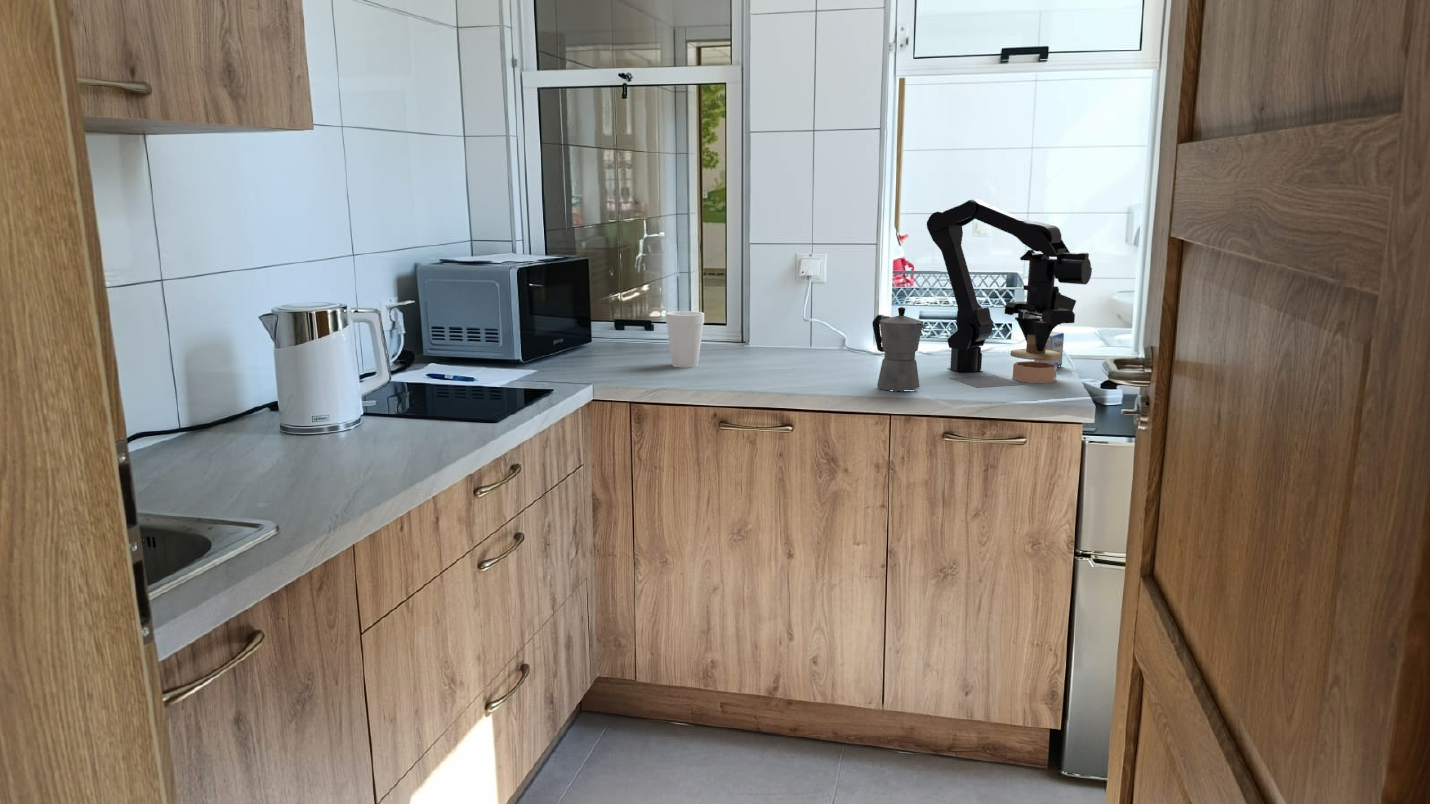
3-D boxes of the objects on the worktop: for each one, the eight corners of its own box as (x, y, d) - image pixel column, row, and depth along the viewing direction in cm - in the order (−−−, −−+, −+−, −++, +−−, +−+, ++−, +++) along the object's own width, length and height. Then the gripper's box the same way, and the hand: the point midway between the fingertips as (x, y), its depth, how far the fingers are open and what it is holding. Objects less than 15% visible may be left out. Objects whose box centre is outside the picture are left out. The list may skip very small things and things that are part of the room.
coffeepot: (935, 391, 222) (939, 309, 219) (903, 395, 217) (907, 311, 214) (886, 379, 235) (889, 302, 231) (855, 384, 230) (858, 304, 226)
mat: (977, 390, 223) (977, 387, 223) (949, 380, 235) (949, 377, 235) (1024, 387, 227) (1024, 384, 227) (994, 377, 238) (994, 375, 238)
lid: (1028, 361, 226) (1030, 339, 225) (1000, 353, 236) (1002, 332, 235) (1070, 359, 229) (1072, 337, 228) (1041, 351, 239) (1042, 331, 238)
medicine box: (1051, 371, 247) (1053, 336, 246) (1033, 369, 250) (1035, 334, 248) (1062, 367, 254) (1064, 332, 252) (1044, 365, 256) (1046, 330, 254)
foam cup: (706, 362, 256) (706, 311, 254) (702, 369, 247) (702, 315, 245) (668, 361, 257) (668, 310, 255) (663, 368, 248) (663, 315, 246)
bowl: (1028, 386, 228) (1030, 369, 227) (1005, 379, 236) (1006, 362, 236) (1063, 384, 231) (1064, 367, 230) (1039, 377, 239) (1040, 360, 238)
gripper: (1098, 284, 223) (1092, 355, 226) (1046, 277, 240) (1041, 342, 243) (1055, 285, 219) (1049, 357, 222) (1005, 278, 237) (1001, 344, 240)
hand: (1035, 350), depth 232 cm, fingers closed on lid, 3 cm apart
